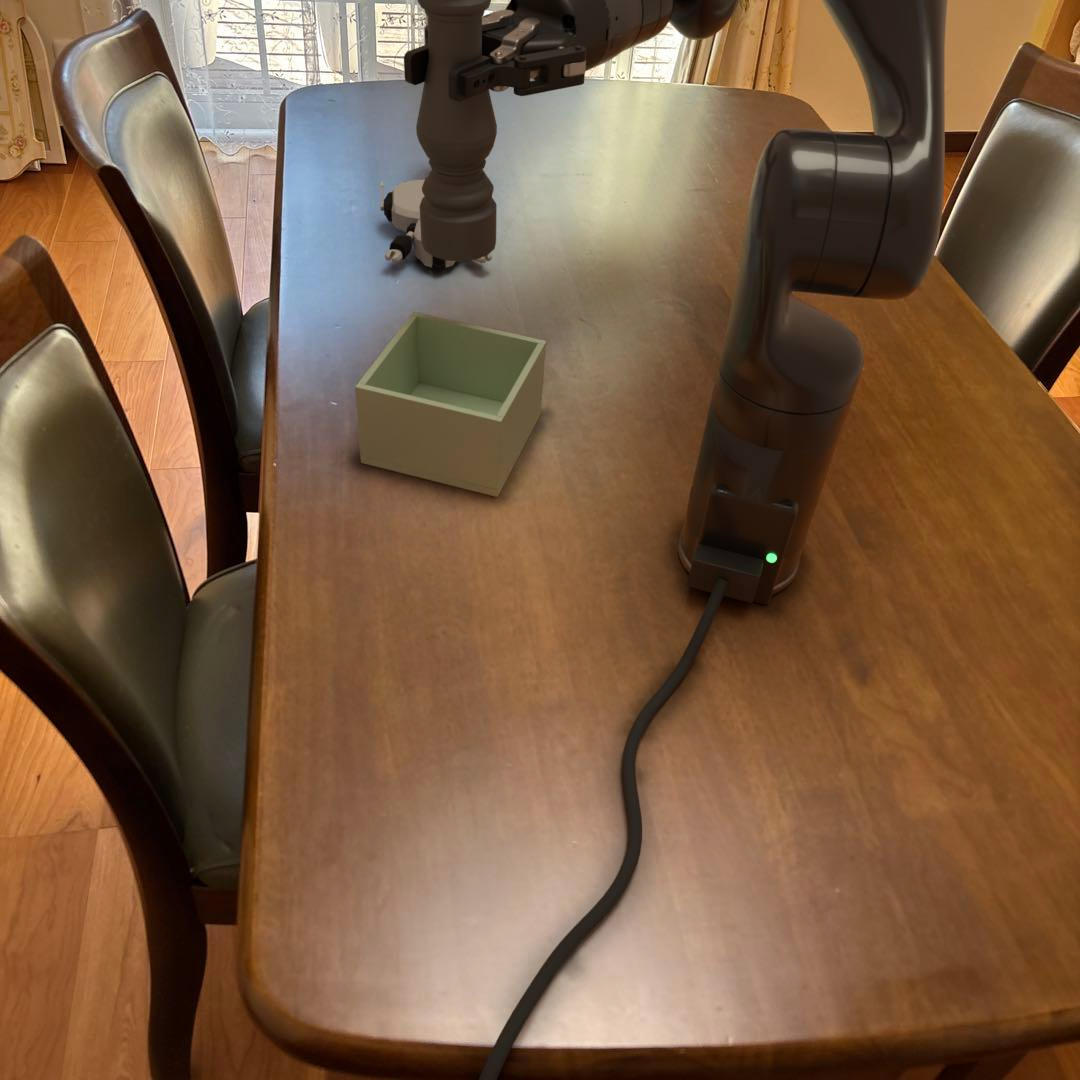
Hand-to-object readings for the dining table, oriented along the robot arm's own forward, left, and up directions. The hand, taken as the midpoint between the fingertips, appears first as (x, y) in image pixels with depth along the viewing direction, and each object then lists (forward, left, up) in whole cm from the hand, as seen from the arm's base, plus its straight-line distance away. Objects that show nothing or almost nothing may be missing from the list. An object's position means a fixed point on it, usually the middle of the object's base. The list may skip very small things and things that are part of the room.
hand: (430, 77), depth 73 cm
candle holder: (+3, -1, -14) cm, 14 cm away
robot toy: (+28, +11, -29) cm, 41 cm away
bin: (-4, -3, -29) cm, 29 cm away
